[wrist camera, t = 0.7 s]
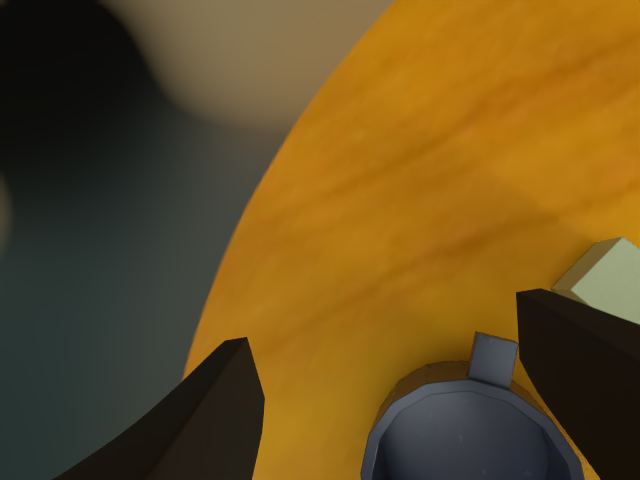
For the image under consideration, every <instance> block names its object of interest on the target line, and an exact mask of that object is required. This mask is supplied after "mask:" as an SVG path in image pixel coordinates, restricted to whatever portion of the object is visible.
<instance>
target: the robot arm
mask: <svg viewBox="0 0 640 480" xmlns="http://www.w3.org/2000/svg"><path fill="white" fill-rule="evenodd" d="M516 299H517V319H518V338H519V358H520V361H521V363H522V365H523V367H524V368H525V370H526V372H527V374H528V376H529V378H530V380H531V381H532V383H533V385H534V387H535V389H536V390H537V392H538V394H539V395H540V396H541V398H542V399H543V401H544V402H545V404H546V405H547V406H548V408H549V409H550V410H551V412H552V413H553V415H554V416H555V417H556V419H557V420H558V421H559V423H560V424H561V426H562V427H563V428H564V430H565V431H566V432H567V434H568V435H569V436H570V438H571V439H572V440H573V442H574V443H575V445H576V446H577V447H578V449H579V450H580V451H581V453H582V454H583V455H584V457H585V458H586V459H587V461H588V462H589V464H590V465H591V466H592V468H593V469H594V470H595V472H596V473H597V475H598V476H599V478H600V479H601V480H640V324H637V323H634V322H631V321H629V320H626V319H623V318H620V317H617V316H615V315H612V314H609V313H607V312H604V311H601V310H599V309H596V308H593V307H591V306H588V305H586V304H583V303H581V302H578V301H575V300H573V299H570V298H568V297H565V296H562V295H559V294H557V293H554V292H551V291H548V290H544V289H541V288H540V289H534V290H528V291H522V292H516ZM264 402H265V397H264V394H263V390H262V387H261V383H260V380H259V377H258V373H257V370H256V366H255V363H254V359H253V356H252V352H251V349H250V346H249V342H248V339H247V337H244V338H238V339H232V340H226V341H224V342H223V343H222V344H221V345H220V346H218V347H217V348H216V349H215V350H214V351H213V352H212V353H211V354H210V355H209V356H208V357H207V358H206V359H205V360H204V361H203V362H202V363H201V364H200V365H199V366H198V367H197V368H196V369H195V370H194V371H193V372H192V373H191V374H190V375H189V376H187V377H186V378H185V379H184V380H183V381H182V382H181V383H180V384H179V385H178V386H177V387H176V388H175V389H174V390H173V391H171V392H170V393H169V394H168V395H167V396H166V397H165V398H164V399H162V401H160V402H159V403H158V404H157V405H156V406H155V407H154V408H152V409H151V410H150V411H149V412H148V413H147V414H145V415H144V416H143V417H142V418H141V419H139V420H138V421H137V422H136V423H134V424H133V425H132V426H130V427H129V428H128V429H127V430H125V431H124V432H123V433H121V434H120V435H119V436H117V437H116V438H115V439H113V440H112V441H110V442H109V443H108V444H106V445H105V446H103V447H102V448H100V449H99V450H97V451H96V452H94V453H93V454H91V455H90V456H88V457H87V458H85V459H84V460H82V461H81V462H79V463H78V464H76V465H75V466H73V467H72V468H70V469H69V470H67V471H66V472H64V473H62V474H61V475H59V476H57V477H56V478H54V479H52V480H252V477H253V472H254V468H255V463H256V458H257V454H258V449H259V445H260V440H261V435H262V427H263V416H264Z"/></svg>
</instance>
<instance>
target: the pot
mask: <svg viewBox="0 0 640 480" xmlns="http://www.w3.org/2000/svg"><path fill="white" fill-rule="evenodd" d="M518 345H519V344H518V343H517V342H516V341H514V340H510V339H506V338H502V337H498V336H494V335H489V334H485V333H481V332H477V331H476V332H475V336H474V340H473V345H472V350H471V355H470V359H469V362H466V361H461V360H460V361H443V362H438V363H433V364H428V365H425V366H423V367H421V368H419V369H417V370H415V371H413V372H412V373H410V374H409V375H407V376H406V377H404V378H403V379H401V380H399V381H398V383H397V384H396V386H395V387H394V388H393V390H392V391H391V392H390V393H389V395H388V397H387V398H386V399H385V401H384V402H383V404H382V405H381V407H380V409H379V411H378V414H377V416H376V419H375V421H374V423H373V426H372V428H371V431H370V433H369V435H368V440H367V445H366V449H365V454H364V459H363V463H362V468H361V472H360V473H361V480H585V479H584V474H583V470H582V466H581V462H580V460H579V458H578V457H577V455H576V454H575V453H574V451H573V450H572V448H571V447H570V445H569V444H568V442H567V441H566V439H565V438H564V436H563V435H562V433H561V432H560V431H559V429H558V428H557V426H556V425H555V423H554V422H553V420H552V419H551V418H550V417H549V416H548V415H547V413H546V412H545V411H544V410H543V409H542V407H541V406H540V405H539V404H538V403H537V401H536V400H535V399H534V398H533V397H532V395H531V394H530V393H529V392H528V391H526V390H525V389H523V388H522V387H521V386H519V385H518V384H517V383H515V382H514V381H513V380H512V374H513V369H514V364H515V360H516V355H517V350H518Z"/></svg>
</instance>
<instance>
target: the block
mask: <svg viewBox="0 0 640 480" xmlns="http://www.w3.org/2000/svg"><path fill="white" fill-rule="evenodd" d="M551 289H552V290H554V291H555V292H556V293H557V294H559V295H562V296H565V297H568V298H570V299H573V300H575V301H578V302H581V303H583V304H586V305H588V306H591V307H593V308H596V309H599V310H601V311H604V312H607V313H609V314H612V315H615V316H617V317H620V318H623V319H626V320H629V321H631V322H634V323H637V324H640V249H639V248H638V247H636V246H635V245H634V244H632V243H631V242H630V241H628V240H627V239H625V238H624V237H619V238H615V239H611V240H606V241H602V242H597V243H595V244H594V245H593V246H592V247H591V248H590V249H589V250H588V251H587V252H586V253H585V254H584V255H583V256H582V257H581V258H580V259H579V260H578V261H577V262H576V263H575V264H574V265H573V266H572V267H571V268H570V269H569V271H568V272H567V273H566V274H565V275H564V276H563V277H562V278H561V279H560V280H559V281H558V282H557V283H556V284H555V285H554V286H553V287H552V288H551Z"/></svg>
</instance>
